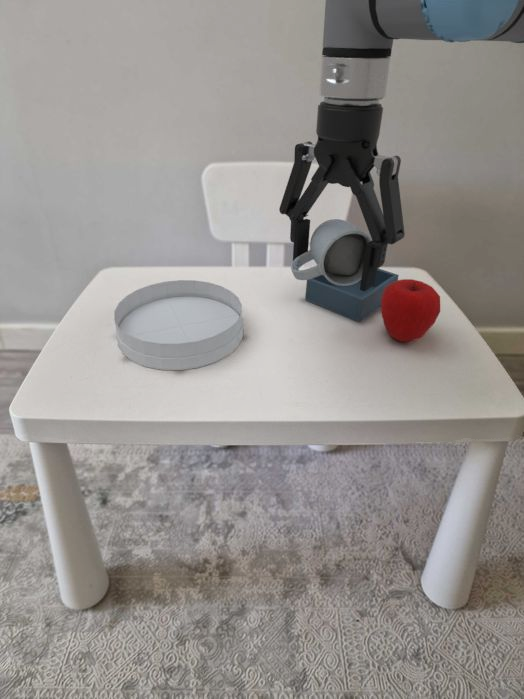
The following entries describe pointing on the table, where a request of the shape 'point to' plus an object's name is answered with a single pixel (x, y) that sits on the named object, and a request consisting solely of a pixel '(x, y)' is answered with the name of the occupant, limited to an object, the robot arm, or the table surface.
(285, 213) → the robot arm
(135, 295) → the dish
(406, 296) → the apple
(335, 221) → the ceramic mug
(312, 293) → the tub
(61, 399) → the table surface
